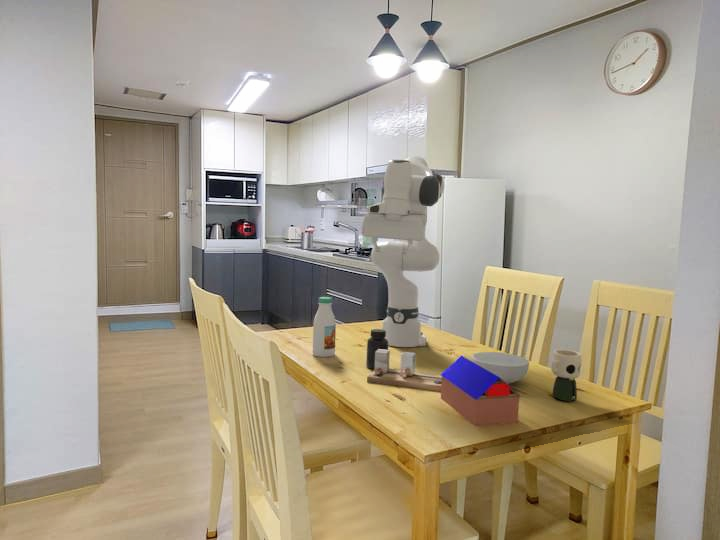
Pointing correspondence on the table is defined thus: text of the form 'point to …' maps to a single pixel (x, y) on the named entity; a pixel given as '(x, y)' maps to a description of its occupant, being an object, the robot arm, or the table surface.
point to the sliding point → (407, 364)
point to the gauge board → (394, 378)
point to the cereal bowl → (503, 365)
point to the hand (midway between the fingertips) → (391, 253)
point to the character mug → (566, 373)
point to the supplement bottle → (375, 346)
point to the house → (478, 394)
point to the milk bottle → (324, 329)
